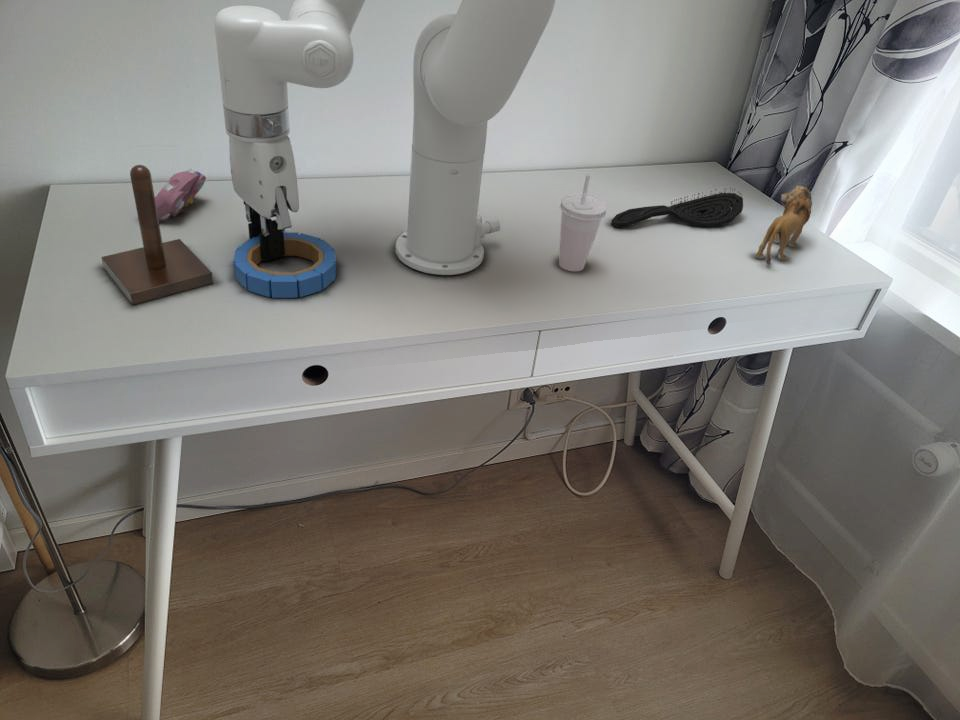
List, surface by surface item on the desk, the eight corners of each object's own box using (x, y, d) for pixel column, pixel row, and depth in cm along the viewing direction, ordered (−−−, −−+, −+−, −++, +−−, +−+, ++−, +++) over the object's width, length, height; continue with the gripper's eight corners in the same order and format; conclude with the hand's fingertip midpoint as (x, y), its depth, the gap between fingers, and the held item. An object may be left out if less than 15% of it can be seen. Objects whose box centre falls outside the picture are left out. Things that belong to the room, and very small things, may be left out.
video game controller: (166, 235, 106) (180, 198, 102) (136, 216, 105) (150, 178, 101) (200, 206, 113) (215, 171, 109) (173, 189, 113) (188, 153, 109)
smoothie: (541, 265, 107) (557, 173, 99) (562, 249, 112) (580, 160, 103) (580, 281, 105) (600, 188, 96) (600, 264, 109) (621, 174, 101)
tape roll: (305, 239, 106) (304, 224, 104) (354, 280, 98) (354, 264, 97) (219, 262, 99) (216, 246, 97) (264, 308, 91) (263, 291, 90)
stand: (181, 249, 100) (165, 143, 91) (213, 283, 94) (199, 174, 86) (103, 267, 95) (78, 157, 86) (132, 305, 89) (108, 190, 80)
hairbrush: (602, 198, 121) (726, 180, 129) (598, 219, 123) (720, 200, 132) (629, 222, 115) (757, 202, 124) (624, 243, 117) (750, 221, 126)
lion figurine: (769, 228, 126) (788, 178, 120) (801, 238, 124) (821, 187, 118) (750, 262, 115) (770, 209, 109) (785, 274, 113) (807, 220, 108)
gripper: (318, 137, 88) (322, 272, 99) (255, 94, 97) (265, 222, 108) (259, 148, 84) (270, 287, 95) (199, 102, 93) (215, 234, 104)
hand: (267, 252), depth 101 cm, fingers closed on tape roll, 2 cm apart
